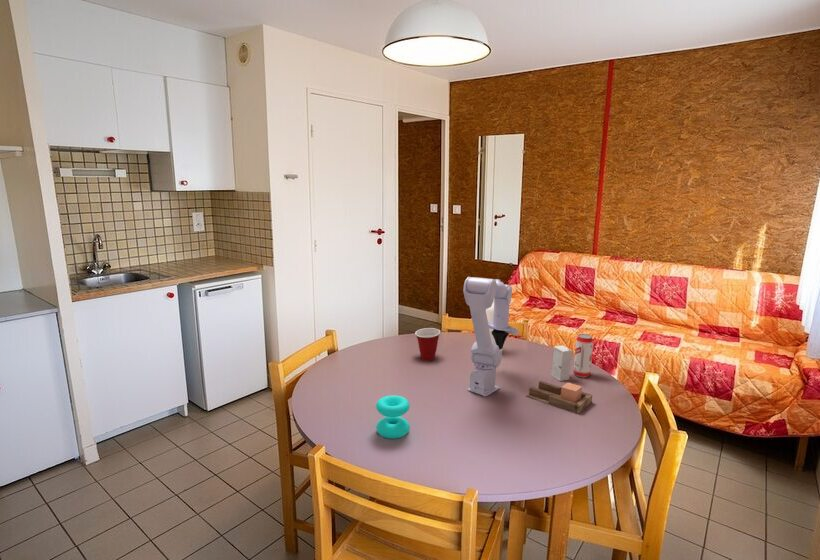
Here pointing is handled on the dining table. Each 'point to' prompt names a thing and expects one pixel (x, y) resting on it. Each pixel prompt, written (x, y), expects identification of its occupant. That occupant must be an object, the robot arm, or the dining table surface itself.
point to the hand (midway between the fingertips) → (499, 348)
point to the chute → (558, 397)
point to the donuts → (392, 416)
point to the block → (571, 392)
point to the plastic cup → (427, 342)
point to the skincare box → (561, 363)
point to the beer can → (583, 355)
